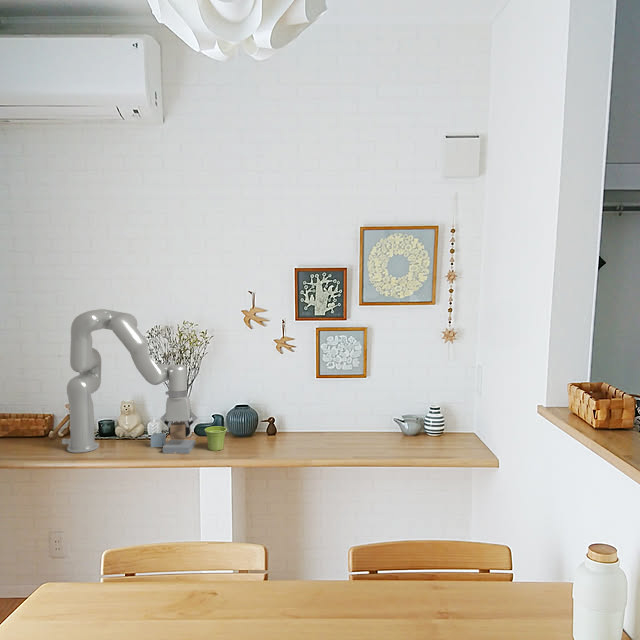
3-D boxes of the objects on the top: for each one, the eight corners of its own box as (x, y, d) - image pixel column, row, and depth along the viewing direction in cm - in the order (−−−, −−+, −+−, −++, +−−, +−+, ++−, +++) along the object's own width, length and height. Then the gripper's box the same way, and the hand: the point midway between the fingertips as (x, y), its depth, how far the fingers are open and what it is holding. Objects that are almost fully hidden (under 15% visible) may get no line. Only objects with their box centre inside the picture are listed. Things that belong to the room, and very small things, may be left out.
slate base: (162, 453, 249) (162, 447, 249) (170, 445, 260) (170, 439, 260) (189, 453, 249) (188, 447, 249) (195, 445, 260) (195, 440, 260)
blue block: (150, 447, 257) (150, 436, 257) (154, 444, 262) (154, 433, 262) (162, 447, 257) (162, 436, 257) (165, 444, 262) (165, 433, 262)
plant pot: (229, 446, 259) (229, 426, 258) (224, 452, 250) (223, 432, 249) (208, 445, 260) (208, 425, 259) (202, 452, 251) (201, 431, 250)
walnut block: (170, 439, 251) (170, 425, 251) (174, 435, 257) (173, 421, 256) (184, 439, 251) (184, 425, 250) (188, 435, 257) (187, 421, 256)
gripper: (155, 396, 249) (156, 438, 250) (196, 395, 248) (197, 438, 250) (160, 392, 256) (161, 433, 258) (200, 392, 256) (201, 433, 257)
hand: (179, 435), depth 254 cm, fingers closed on walnut block, 6 cm apart
